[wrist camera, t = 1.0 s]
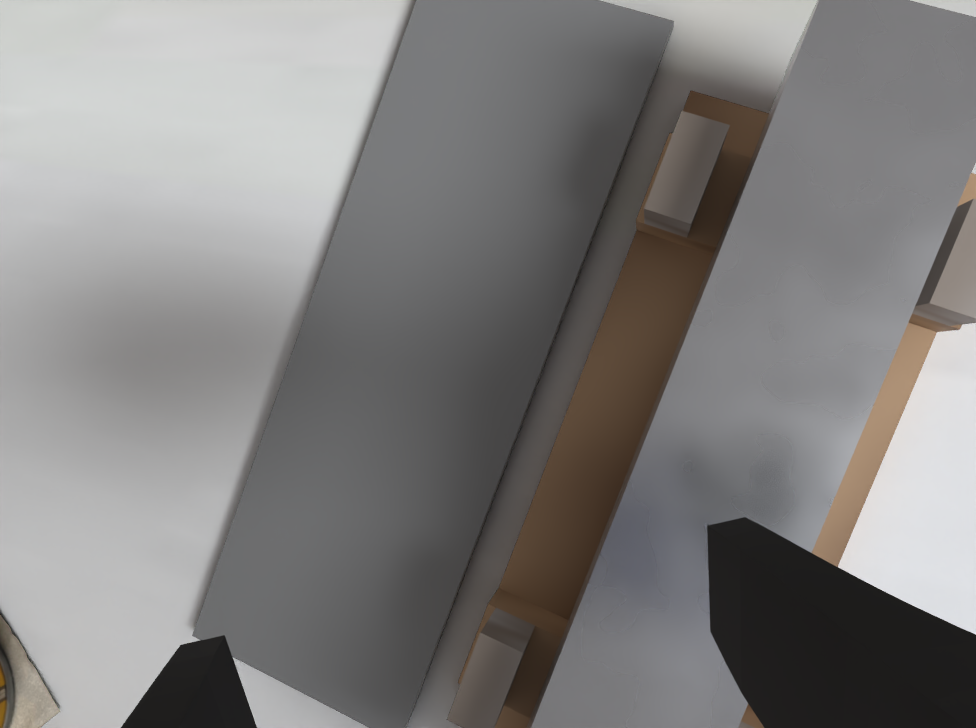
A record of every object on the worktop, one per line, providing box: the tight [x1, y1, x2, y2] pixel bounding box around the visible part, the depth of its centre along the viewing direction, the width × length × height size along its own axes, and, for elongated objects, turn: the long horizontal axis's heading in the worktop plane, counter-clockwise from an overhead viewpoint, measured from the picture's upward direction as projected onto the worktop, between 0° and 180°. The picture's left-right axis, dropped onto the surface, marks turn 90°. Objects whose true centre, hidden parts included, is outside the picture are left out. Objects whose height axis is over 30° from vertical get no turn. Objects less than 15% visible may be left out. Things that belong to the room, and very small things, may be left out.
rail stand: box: [447, 91, 976, 728], centre depth 20 cm, size 8×20×4 cm, turn 159°
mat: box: [192, 0, 674, 728], centre depth 24 cm, size 8×24×1 cm, turn 159°
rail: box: [526, 0, 976, 728], centre depth 18 cm, size 4×22×4 cm, turn 159°
